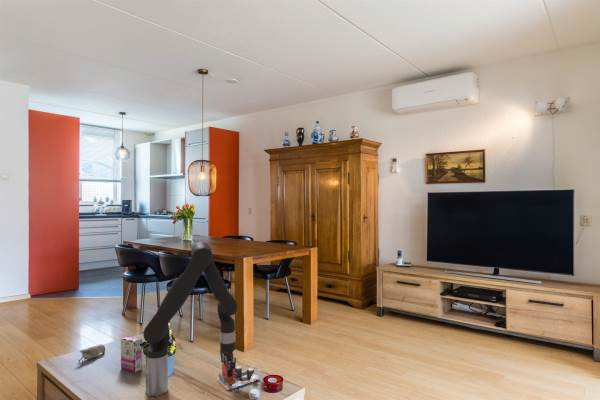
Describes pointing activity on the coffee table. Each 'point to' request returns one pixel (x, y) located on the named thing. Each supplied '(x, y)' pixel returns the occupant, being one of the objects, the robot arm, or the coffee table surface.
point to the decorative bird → (92, 352)
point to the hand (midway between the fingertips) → (228, 374)
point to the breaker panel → (233, 379)
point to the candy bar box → (131, 354)
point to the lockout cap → (226, 371)
